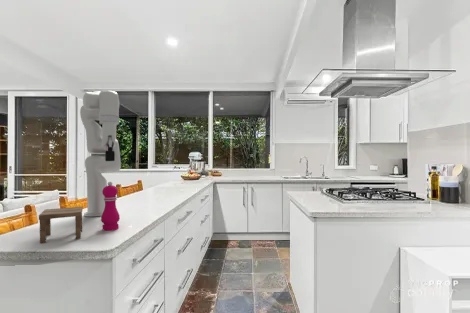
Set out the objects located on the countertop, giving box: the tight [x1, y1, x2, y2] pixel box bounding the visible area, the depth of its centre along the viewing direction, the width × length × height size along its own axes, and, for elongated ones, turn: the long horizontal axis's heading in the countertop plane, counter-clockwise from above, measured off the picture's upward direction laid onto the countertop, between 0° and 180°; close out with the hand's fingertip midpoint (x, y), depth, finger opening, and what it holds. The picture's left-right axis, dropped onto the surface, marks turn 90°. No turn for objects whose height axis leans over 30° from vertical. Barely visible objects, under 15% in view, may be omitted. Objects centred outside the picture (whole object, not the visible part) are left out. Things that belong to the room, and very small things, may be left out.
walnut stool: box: [38, 206, 83, 244], centre depth 108 cm, size 13×13×10 cm
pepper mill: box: [100, 181, 120, 232], centre depth 119 cm, size 7×7×20 cm
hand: (109, 161), depth 119 cm, fingers open, 9 cm apart
